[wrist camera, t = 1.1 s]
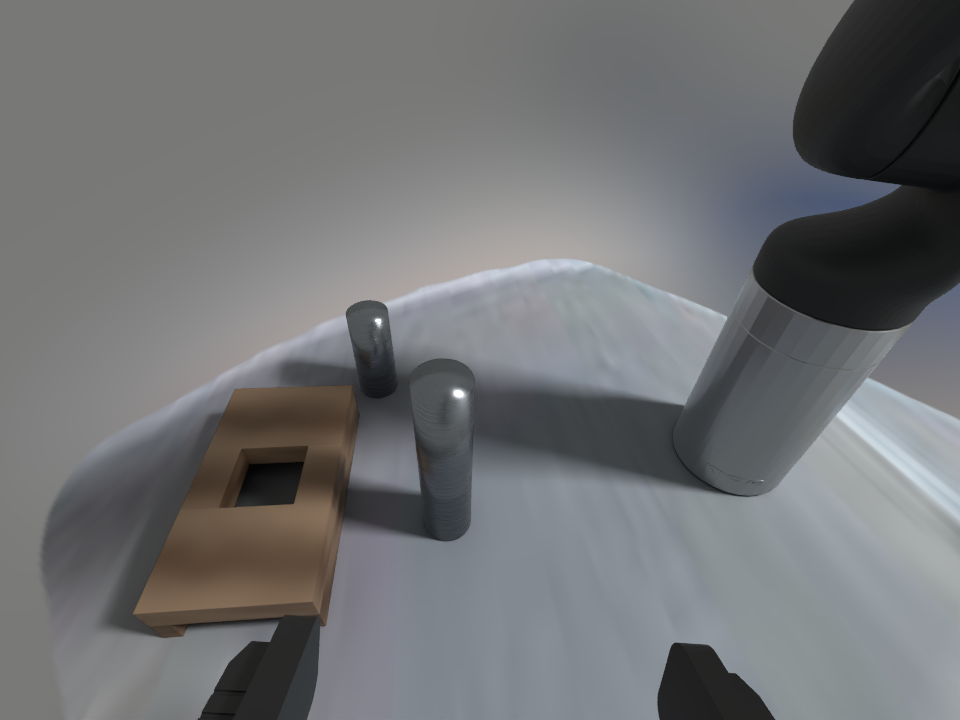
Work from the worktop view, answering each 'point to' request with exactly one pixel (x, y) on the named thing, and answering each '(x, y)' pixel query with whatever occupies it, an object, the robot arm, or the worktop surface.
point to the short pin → (372, 347)
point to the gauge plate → (259, 515)
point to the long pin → (444, 444)
